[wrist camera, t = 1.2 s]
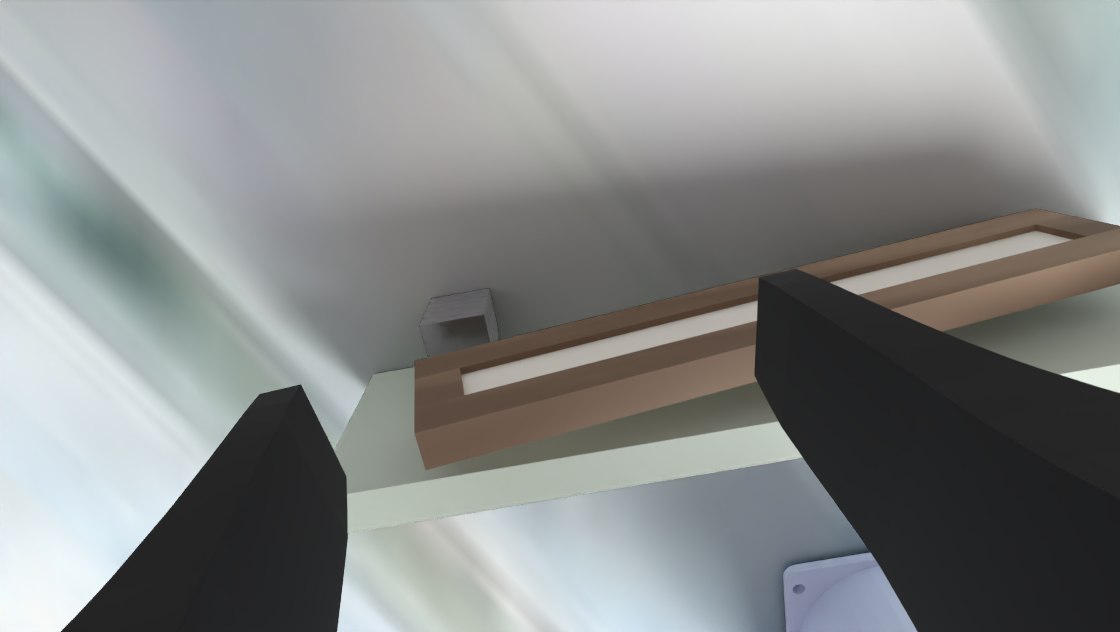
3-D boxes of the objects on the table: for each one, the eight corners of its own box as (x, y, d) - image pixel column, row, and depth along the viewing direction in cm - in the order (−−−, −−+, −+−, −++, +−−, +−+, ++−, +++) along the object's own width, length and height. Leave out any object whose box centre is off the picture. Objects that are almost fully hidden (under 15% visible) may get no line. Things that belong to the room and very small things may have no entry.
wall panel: (1110, 277, 22) (1344, 368, 16) (382, 403, 23) (323, 537, 17) (1126, 175, 21) (1390, 227, 15) (353, 312, 22) (277, 419, 15)
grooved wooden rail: (1032, 238, 21) (1163, 272, 17) (423, 392, 18) (425, 470, 15) (1035, 208, 21) (1170, 236, 17) (414, 361, 18) (414, 433, 14)
